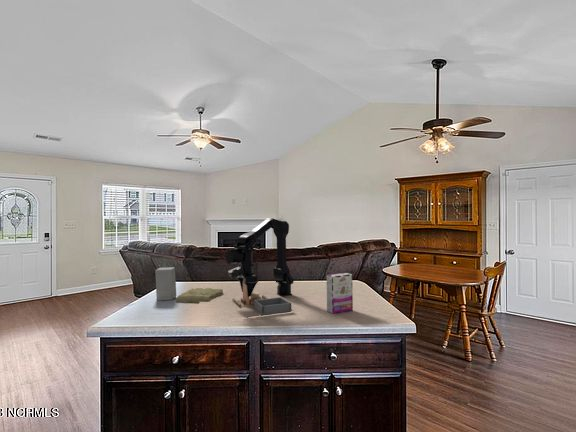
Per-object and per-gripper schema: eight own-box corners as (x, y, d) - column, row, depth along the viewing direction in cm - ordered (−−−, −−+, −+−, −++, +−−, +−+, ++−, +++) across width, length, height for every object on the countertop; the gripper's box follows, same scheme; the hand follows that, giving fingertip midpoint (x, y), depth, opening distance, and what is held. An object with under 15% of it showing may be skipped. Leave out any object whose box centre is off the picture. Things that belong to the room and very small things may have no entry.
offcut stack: (257, 300, 160) (257, 291, 160) (260, 302, 155) (260, 294, 155) (249, 301, 158) (249, 292, 158) (252, 303, 153) (252, 294, 153)
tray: (280, 305, 154) (280, 297, 154) (291, 311, 143) (291, 303, 143) (253, 308, 148) (253, 300, 148) (262, 315, 137) (262, 306, 137)
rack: (263, 299, 164) (263, 294, 164) (272, 305, 154) (272, 299, 154) (232, 302, 158) (232, 297, 158) (239, 309, 147) (239, 303, 147)
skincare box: (176, 297, 168) (176, 266, 169) (172, 300, 161) (172, 269, 161) (160, 297, 168) (160, 266, 168) (154, 300, 161) (154, 269, 161)
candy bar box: (346, 308, 149) (346, 272, 149) (353, 310, 145) (353, 274, 145) (325, 311, 144) (326, 274, 144) (332, 314, 140) (332, 276, 140)
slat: (245, 301, 157) (245, 280, 157) (249, 304, 152) (249, 283, 152) (242, 301, 157) (242, 281, 157) (246, 304, 151) (246, 283, 151)
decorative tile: (175, 302, 159) (175, 295, 159) (191, 293, 179) (191, 286, 179) (211, 304, 157) (211, 296, 157) (224, 294, 177) (224, 287, 177)
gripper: (224, 260, 160) (224, 291, 160) (235, 265, 143) (234, 300, 143) (246, 258, 164) (246, 289, 164) (258, 263, 147) (258, 298, 147)
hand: (246, 294), depth 154 cm, fingers open, 9 cm apart
